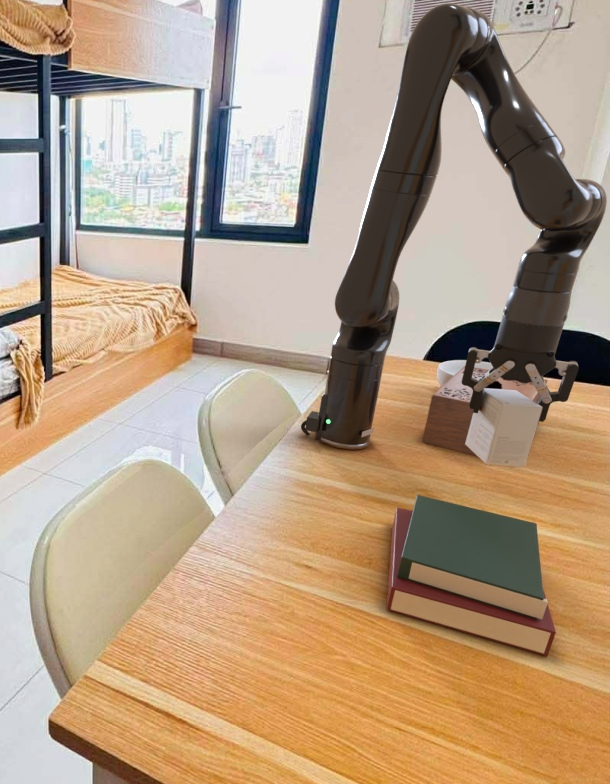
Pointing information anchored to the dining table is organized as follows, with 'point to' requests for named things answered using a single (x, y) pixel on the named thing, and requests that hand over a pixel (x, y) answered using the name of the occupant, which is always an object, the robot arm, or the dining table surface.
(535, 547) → the books
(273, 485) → the dining table surface
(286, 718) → the dining table surface
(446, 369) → the cereal bowl
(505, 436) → the small box
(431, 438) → the tissue box cover
